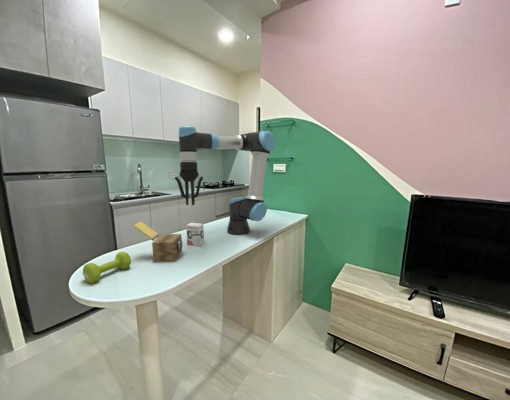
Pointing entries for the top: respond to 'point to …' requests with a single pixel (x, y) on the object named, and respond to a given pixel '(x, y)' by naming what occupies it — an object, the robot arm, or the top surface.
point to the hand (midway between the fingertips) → (190, 211)
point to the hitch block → (166, 248)
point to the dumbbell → (106, 267)
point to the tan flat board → (146, 230)
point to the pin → (179, 245)
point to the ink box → (195, 234)
